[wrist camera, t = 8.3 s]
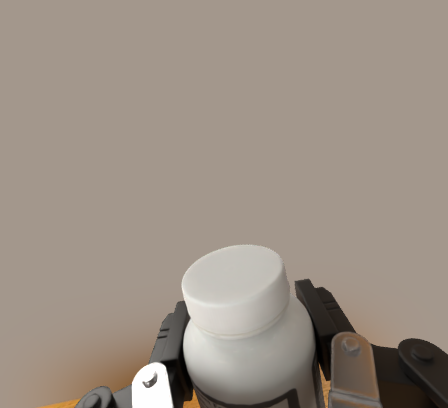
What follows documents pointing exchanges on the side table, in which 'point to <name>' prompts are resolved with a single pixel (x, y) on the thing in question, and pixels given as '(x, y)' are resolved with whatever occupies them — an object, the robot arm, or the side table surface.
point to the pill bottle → (248, 333)
